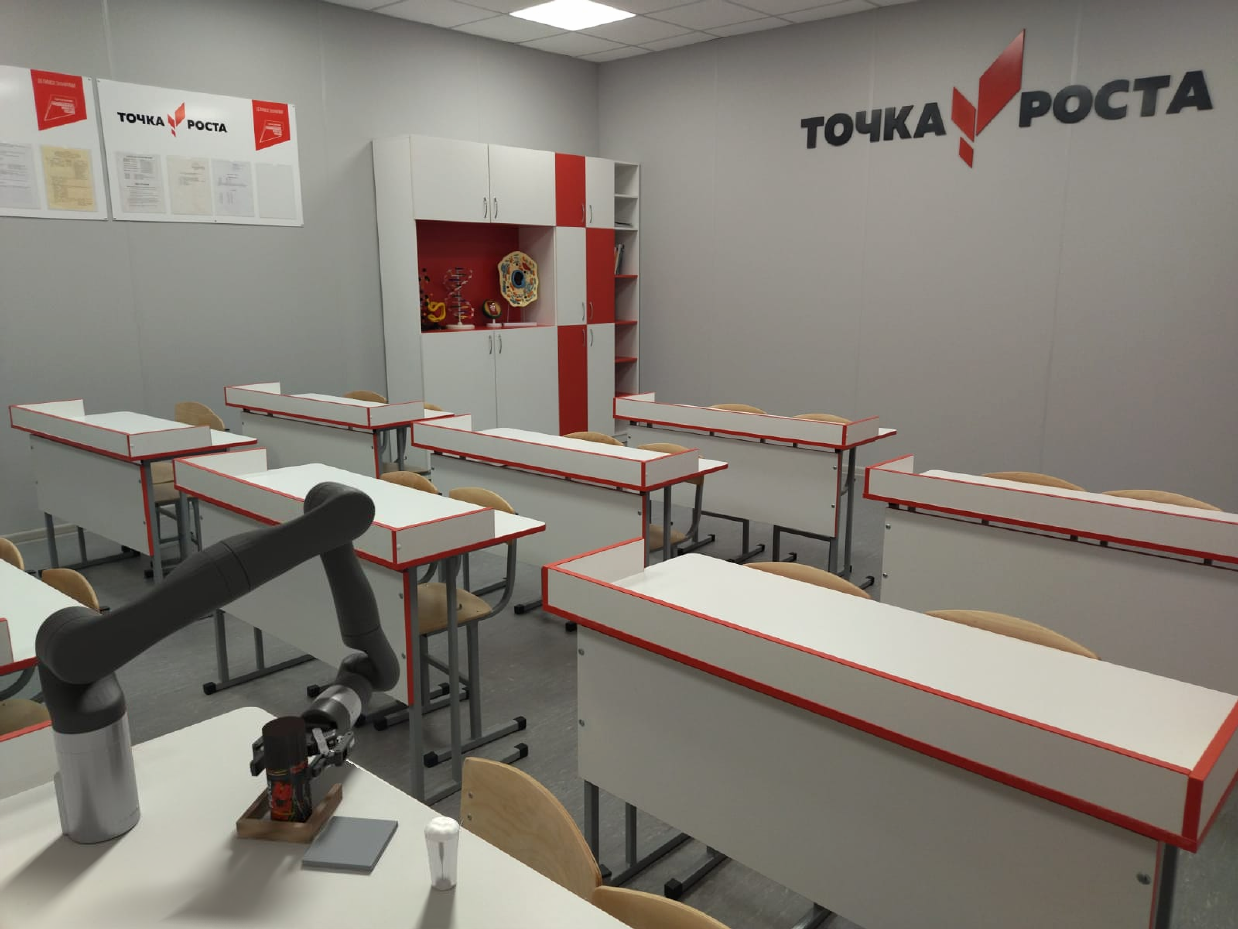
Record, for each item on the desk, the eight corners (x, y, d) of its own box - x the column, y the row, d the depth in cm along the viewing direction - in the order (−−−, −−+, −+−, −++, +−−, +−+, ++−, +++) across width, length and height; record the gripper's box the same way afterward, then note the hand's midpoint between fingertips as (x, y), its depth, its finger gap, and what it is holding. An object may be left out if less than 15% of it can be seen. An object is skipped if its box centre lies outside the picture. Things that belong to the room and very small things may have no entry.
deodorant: (321, 813, 133) (313, 722, 129) (289, 834, 128) (280, 741, 124) (294, 801, 136) (286, 712, 132) (262, 822, 131) (252, 730, 127)
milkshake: (460, 897, 115) (456, 830, 113) (421, 891, 116) (417, 824, 114) (472, 874, 120) (469, 809, 117) (435, 869, 121) (431, 804, 118)
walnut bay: (237, 837, 127) (235, 822, 127) (275, 793, 138) (274, 779, 137) (310, 843, 126) (308, 828, 125) (342, 798, 136) (341, 784, 136)
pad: (301, 865, 121) (301, 860, 121) (333, 820, 131) (333, 815, 131) (371, 871, 120) (371, 866, 120) (398, 825, 130) (397, 821, 130)
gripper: (286, 694, 144) (232, 746, 128) (370, 699, 142) (325, 753, 126) (290, 735, 145) (237, 792, 130) (373, 741, 144) (329, 799, 128)
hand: (281, 773), depth 128 cm, fingers open, 8 cm apart
